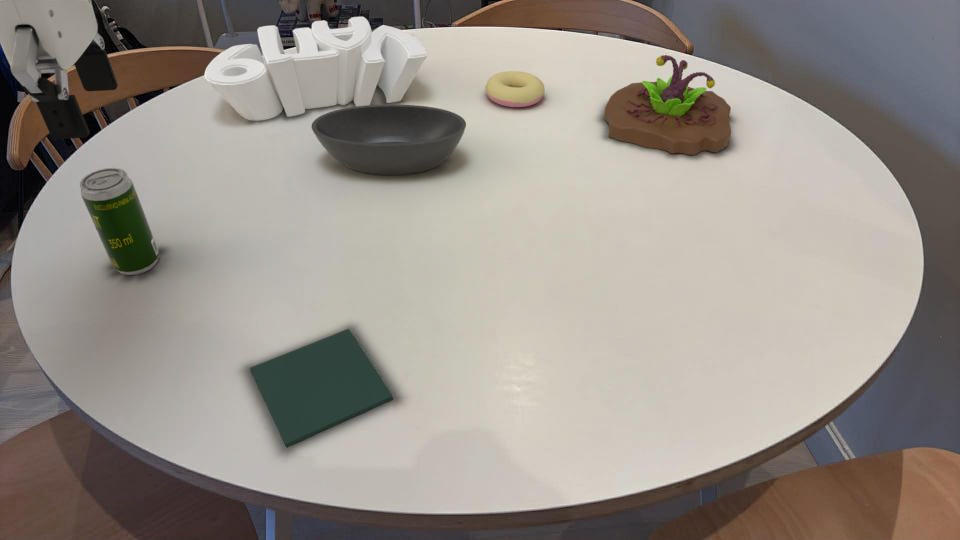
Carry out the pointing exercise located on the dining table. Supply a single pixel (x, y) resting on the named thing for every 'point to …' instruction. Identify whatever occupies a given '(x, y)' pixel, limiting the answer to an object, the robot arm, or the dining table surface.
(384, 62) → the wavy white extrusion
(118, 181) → the beer can
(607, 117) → the plant
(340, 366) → the front mat
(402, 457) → the dining table surface
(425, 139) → the bowl
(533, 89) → the donut
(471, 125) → the dining table surface
